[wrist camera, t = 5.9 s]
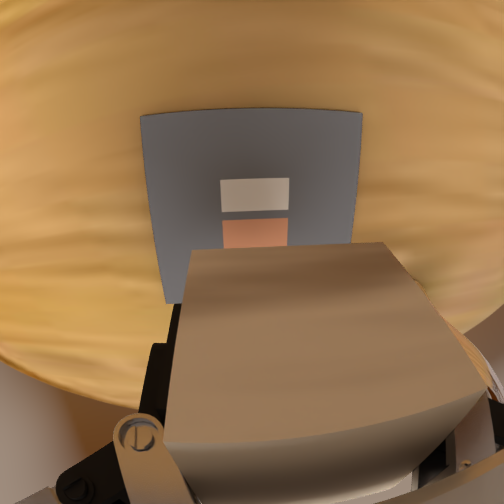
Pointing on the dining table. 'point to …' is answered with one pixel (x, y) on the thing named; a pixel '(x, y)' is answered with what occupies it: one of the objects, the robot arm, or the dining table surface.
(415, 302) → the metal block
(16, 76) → the dining table surface
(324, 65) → the dining table surface
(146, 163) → the gray mat
